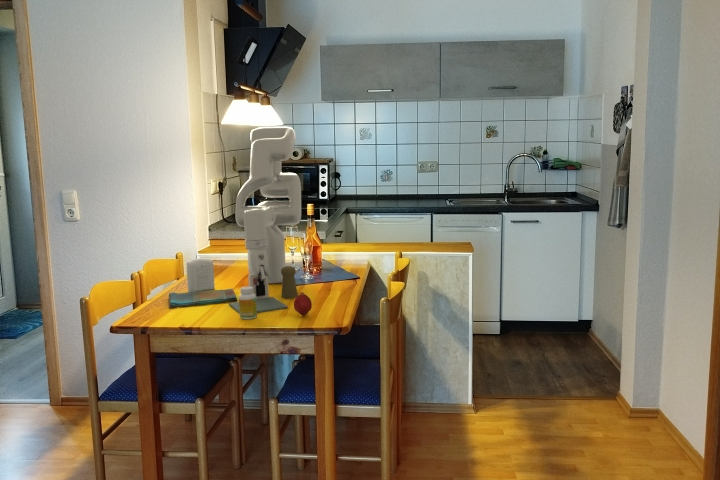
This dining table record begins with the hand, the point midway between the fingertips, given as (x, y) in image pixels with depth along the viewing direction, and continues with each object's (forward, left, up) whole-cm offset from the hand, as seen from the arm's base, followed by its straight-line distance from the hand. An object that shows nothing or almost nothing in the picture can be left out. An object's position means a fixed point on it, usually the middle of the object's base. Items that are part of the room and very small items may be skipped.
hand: (259, 294), depth 241 cm
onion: (-5, +30, -2) cm, 30 cm away
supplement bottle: (+11, +22, -2) cm, 25 cm away
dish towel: (+18, -10, -2) cm, 21 cm away
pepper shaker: (-10, +4, -2) cm, 11 cm away
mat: (+4, +11, -1) cm, 12 cm away
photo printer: (+15, -24, -2) cm, 28 cm away
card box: (0, 0, -1) cm, 1 cm away
